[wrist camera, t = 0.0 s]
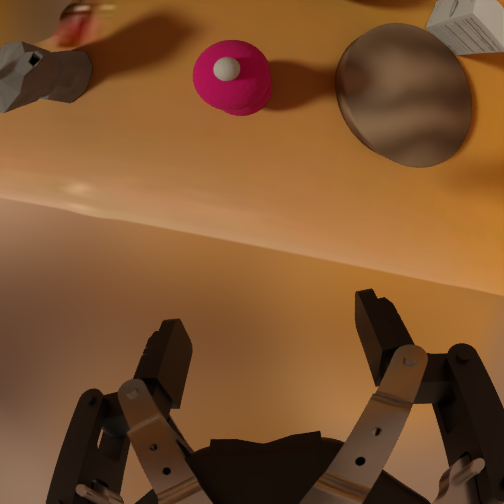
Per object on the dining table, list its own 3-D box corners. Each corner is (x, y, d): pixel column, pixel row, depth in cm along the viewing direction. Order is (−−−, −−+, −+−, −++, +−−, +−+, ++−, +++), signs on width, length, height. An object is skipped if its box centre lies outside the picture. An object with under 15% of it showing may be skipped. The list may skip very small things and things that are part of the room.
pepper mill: (278, 73, 32) (296, 35, 14) (261, 122, 35) (262, 132, 17) (225, 58, 31) (189, 11, 13) (209, 107, 34) (158, 106, 16)
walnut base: (321, 30, 28) (329, 20, 24) (440, 37, 26) (458, 33, 21) (347, 167, 37) (358, 175, 33) (457, 156, 35) (475, 163, 30)
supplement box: (435, 0, 22) (480, -18, 11) (467, 29, 24) (516, 21, 13) (423, 27, 26) (472, 12, 14) (457, 57, 27) (509, 53, 16)
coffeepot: (104, 37, 28) (24, 16, 12) (105, 93, 32) (20, 97, 17) (33, 68, 29) (-45, 73, 13) (34, 117, 33) (-45, 138, 17)
